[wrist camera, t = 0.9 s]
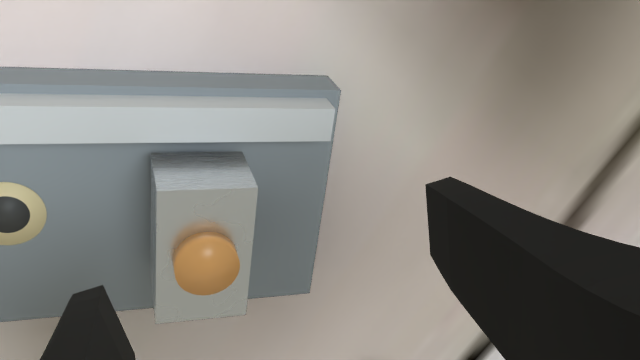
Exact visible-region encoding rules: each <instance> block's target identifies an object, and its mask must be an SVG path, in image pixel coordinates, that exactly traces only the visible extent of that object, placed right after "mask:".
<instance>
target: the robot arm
mask: <svg viewBox="0 0 640 360" xmlns="http://www.w3.org/2000/svg"><path fill="white" fill-rule="evenodd" d="M426 198H427V212H428V226H429V241H430V255H431V257H432V258H433V260H434V262H435V264H436V265H437V267H438V269H439V271H440V273H441V274H442V276H443V278H444V279H445V281H446V283H447V284H448V286H449V288H450V289H451V291H452V292H453V293H454V295H455V296H456V297H457V299H458V300H459V301H460V302H461V304H462V305H463V306H464V308H465V309H466V310H467V311H468V313H469V314H470V315H471V317H472V318H473V319H474V320H475V322H476V323H477V324H478V325H479V327H480V328H481V329H482V331H483V332H484V333H485V334H486V336H487V337H488V338H489V339H490V341H491V342H492V343H493V344H494V346H495V347H496V348H497V350H498V351H499V352H500V353H501V355H502V356H503V357H504V358H505V360H640V248H639V247H635V246H631V245H627V244H623V243H619V242H615V241H612V240H609V239H605V238H602V237H598V236H595V235H591V234H588V233H585V232H582V231H579V230H576V229H573V228H570V227H568V226H565V225H562V224H559V223H557V222H554V221H551V220H549V219H546V218H544V217H541V216H539V215H536V214H534V213H531V212H529V211H526V210H524V209H522V208H519V207H517V206H515V205H512V204H510V203H508V202H506V201H503V200H501V199H499V198H497V197H495V196H492V195H490V194H488V193H486V192H484V191H481V190H479V189H477V188H475V187H473V186H471V185H468V184H466V183H464V182H462V181H459V180H457V179H454V178H452V177H448V178H445V179H442V180H439V181H436V182H432V183H429V184H426ZM40 360H135V354H134V351H133V349H132V347H131V345H130V343H129V340H128V338H127V336H126V334H125V332H124V330H123V327H122V325H121V323H120V321H119V319H118V316H117V314H116V312H115V310H114V308H113V306H112V303H111V301H110V299H109V297H108V295H107V292H106V290H105V288H104V286H103V285H100V286H97V287H94V288H91V289H87V290H84V291H81V292H78V293H75V294H73V295H72V296H71V298H70V300H69V301H68V304H67V306H66V308H65V310H64V312H63V314H62V316H61V318H60V320H59V323H58V325H57V327H56V329H55V331H54V333H53V335H52V337H51V339H50V341H49V343H48V345H47V347H46V349H45V351H44V353H43V355H42V357H41V359H40Z"/></svg>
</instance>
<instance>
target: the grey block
mask: <svg viewBox="0 0 640 360" xmlns="http://www.w3.org/2000/svg"><path fill="white" fill-rule="evenodd" d="M257 195H258V186H257V184H256V182H255V179H254V177H253V175H252V172H251V170H250V168H249V166H248V163H247V161H246V159H245V156H244V154H243V152H179V153H151V210H150V280H151V289H152V297H153V306H154V315H155V324H161V323H171V322H181V321H190V320H200V319H210V318H220V317H230V316H240V315H246V308H247V298H248V288H249V277H250V267H251V257H252V246H253V236H254V226H255V215H256V205H257Z"/></svg>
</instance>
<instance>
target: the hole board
mask: <svg viewBox="0 0 640 360" xmlns="http://www.w3.org/2000/svg"><path fill="white" fill-rule="evenodd" d="M340 93H341V90H340V89H339V88H338V87H337V85H336V84H335V83H334V82H333V81H332V80H331V79H330V78H329V77H328V76H315V75H278V74H242V73H205V72H168V71H132V70H95V69H59V68H22V67H0V322H6V321H16V320H27V319H38V318H49V317H59V316H62V314H63V312H64V310H65V308H66V306H67V304H68V301H69V300H70V298H71V296H72V295H73V294H75V293H78V292H81V291H84V290H87V289H91V288H94V287H97V286H100V285H103V286H104V288H105V290H106V292H107V295H108V297H109V299H110V301H111V303H112V306H113V308H114V310H115V311H124V310H134V309H145V308H154V306H153V297H152V289H151V280H150V210H151V153H179V152H243V154H244V156H245V159H246V161H247V163H248V166H249V168H250V170H251V172H252V175H253V177H254V179H255V182H256V184H257V186H258V195H257V205H256V215H255V226H254V236H253V246H252V257H251V267H250V277H249V288H248V298H247V299H252V298H263V297H274V296H284V295H295V294H306V293H310V286H311V280H312V273H313V267H314V261H315V254H316V248H317V241H318V235H319V228H320V222H321V215H322V209H323V202H324V196H325V190H326V183H327V177H328V170H329V164H330V157H331V151H332V144H333V138H334V131H335V125H336V118H337V112H338V106H339V99H340Z"/></svg>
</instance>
